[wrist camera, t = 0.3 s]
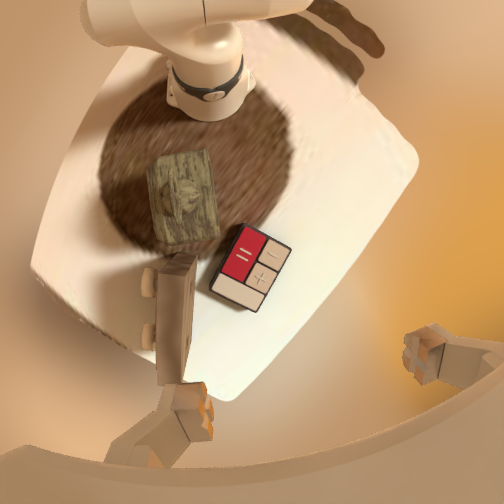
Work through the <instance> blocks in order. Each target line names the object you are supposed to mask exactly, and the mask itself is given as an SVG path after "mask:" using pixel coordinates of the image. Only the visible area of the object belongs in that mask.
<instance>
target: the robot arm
mask: <svg viewBox="0 0 504 504" xmlns="http://www.w3.org/2000/svg"><path fill="white" fill-rule="evenodd" d="M313 1H314V0H82V1H81V7H80V18H81V22H82V26H83V27H84V29H85V31H86V33H87V34H88V35H89V36H90V37H91V38H92V39H93V40H95V41H96V42H98V43H100V44H102V45H104V46H108V47H111V46H135V47H141V48H146V49H149V50H153V51H156V52H158V53H161V54H163V55H165V56H167V57H168V59H169V60H167V63H166V65H167V70H169V72H168V85H167V103H168V105H170V106H172V107H176V108H179V109H181V110H182V111H183V112H185V113H186V114H187V115H188V116H190V117H192V118H194V119H196V120H200V121H207V122H211V121H218V120H222V119H224V118H227V117H229V116H230V115H232V114H233V113H234V112H236V111H237V110H238V109H239V107H240V106H241V105H242V103H243V101H244V99H245V97H246V95H247V94H248V93H249V92H250V91H251V90H252V89H253V88H254V87H255V80H254V78H253V76H252V74H251V72H250V70H249V69H248V67H247V65H246V63H245V61H244V59H243V55H242V49H243V41H244V38H243V34H242V31H241V29H240V27H239V26H238V25H237V23H236V22H237V21H247V20H260V19H267V18H272V17H277V16H283V15H288V14H293V13H297V12H302V11H304V10H305V9H306V8H308V7H309V6H310V4H311V3H312V2H313ZM171 95H173V96H171ZM404 344H405V345H406V347H405V349H404V351H403V357H402V359H403V363H404V366H405V368H406V369H407V370H408V371H409V372H412V373H414V378H415V379H416V380H417V381H418V382H419V383H420V384H421V386H422V385H425V384H427V383H430V382H432V381H434V380H436V379H438V380H440V381H443V382H445V383H448V384H450V385H453V386H456V387H459V388H461V389H464V390H463V391H461V392H460V393H458V394H456V395H455V396H453V397H451V398H450V399H448V400H446V401H444V402H442V403H441V404H439V405H437V406H435V407H433V408H431V409H429V410H427V411H425V412H423V413H421V414H419V415H417V416H415V417H412V418H410V419H408V420H406V421H404V422H401V423H399V424H397V425H394V426H392V427H389V428H387V429H385V430H382V431H379V432H377V433H374V434H371V435H369V436H366V437H363V438H360V439H357V440H354V441H352V442H348V443H345V444H342V445H339V446H335V447H332V448H328V449H324V450H320V451H317V452H313V453H309V454H304V455H300V456H295V457H290V458H285V459H280V460H274V461H268V462H262V463H255V464H247V465H238V466H228V467H214V468H190V469H187V468H186V469H178V468H176V469H174V468H171V467H172V465H173V464H174V463H175V462H176V461H177V459H178V458H179V457H180V456H181V455H182V454H183V452H184V451H185V450H186V449H187V447H188V446H189V445H190V443H191V442H202V441H212V437H213V427H212V424H211V422H212V421H213V419H214V412H213V406H212V402H211V399H210V398H209V397H208V396H207V388H206V386H205V383H204V382H193V383H179V384H166V385H165V386H164V389H163V392H162V395H161V398H160V401H159V404H158V407H157V411H152V412H151V413H150V414H149V415H147V416H146V417H145V418H143V419H142V420H141V421H140V422H138V423H137V424H136V425H134V426H133V427H132V428H130V429H129V430H128V431H126V432H125V433H124V434H122V435H121V436H119V437H118V438H117V439H115V440H114V441H113V442H112V443H111V445H110V448H109V450H108V453H107V455H106V457H105V460H104V462H103V463H102V462H97V461H90V460H85V459H80V458H75V457H71V456H67V455H63V454H59V453H55V452H51V451H48V450H44V449H41V448H38V447H35V446H31V445H24V446H21V447H19V448H16V449H14V450H12V451H10V452H7V453H5V454H3V455H1V456H0V504H504V343H502V342H496V341H488V340H482V339H475V338H468V337H461V336H458V337H456V336H454V335H452V334H451V333H450V332H449V331H447V330H446V329H444V328H443V327H441V326H440V325H439V324H437V323H431V324H429V325H427V326H425V327H423V328H420V329H418V330H415V331H413V332H410V333H407V334H406V335H405V337H404Z"/></svg>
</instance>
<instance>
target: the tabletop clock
mask: <svg viewBox="0 0 504 504" xmlns="http://www.w3.org/2000/svg"><path fill="white" fill-rule="evenodd" d="M147 182H148V191H149V200H150V207H151V213H152V219H153V225H154V230H155V234H156V237H157V239H158V240H159V241H161V242H164V243H167V244H169V245H172V246H174V245H181V244H187V243H194V242H200V241H207V240H214V239H219V238H220V224H219V217H218V210H217V202H216V195H215V188H214V180H213V173H212V166H211V160H210V156H209V152H208V150H207V148H206V149H199V150H193V151H188V152H182V153H176V154H171V155H166V156H161V157H158V158H157V159H156V160H155V161H153V162H152V163H151V164H150V165H149V166H148V167H147Z"/></svg>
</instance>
